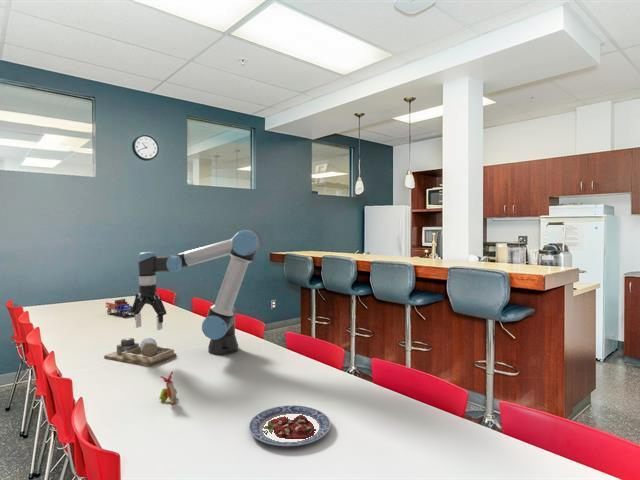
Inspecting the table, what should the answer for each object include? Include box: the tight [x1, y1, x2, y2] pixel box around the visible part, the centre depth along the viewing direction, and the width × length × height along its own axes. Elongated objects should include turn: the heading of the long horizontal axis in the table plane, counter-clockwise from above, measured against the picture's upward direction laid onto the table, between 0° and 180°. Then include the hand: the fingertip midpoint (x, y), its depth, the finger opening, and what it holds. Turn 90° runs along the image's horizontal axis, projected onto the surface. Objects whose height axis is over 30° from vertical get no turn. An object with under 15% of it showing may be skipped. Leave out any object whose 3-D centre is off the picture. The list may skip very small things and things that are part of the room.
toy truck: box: [105, 298, 135, 318], centre depth 290 cm, size 8×25×11 cm, turn 58°
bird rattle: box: [158, 371, 178, 405], centre depth 148 cm, size 6×11×9 cm
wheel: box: [120, 337, 135, 346], centre depth 201 cm, size 6×6×6 cm
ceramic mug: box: [139, 337, 164, 357], centre depth 197 cm, size 11×8×8 cm
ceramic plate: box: [248, 404, 332, 447], centre depth 129 cm, size 26×26×3 cm
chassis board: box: [103, 342, 177, 368], centre depth 198 cm, size 29×17×5 cm, turn 67°
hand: (149, 328), depth 196 cm, fingers open, 13 cm apart
